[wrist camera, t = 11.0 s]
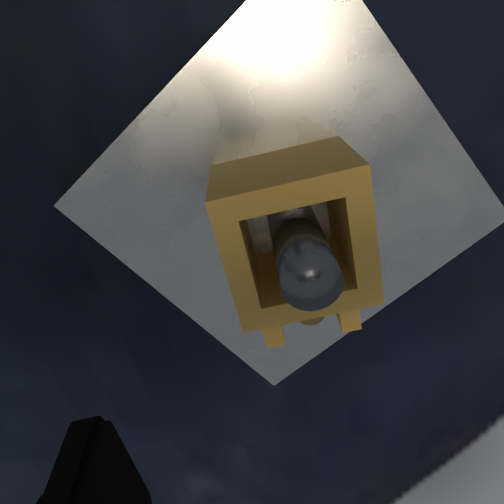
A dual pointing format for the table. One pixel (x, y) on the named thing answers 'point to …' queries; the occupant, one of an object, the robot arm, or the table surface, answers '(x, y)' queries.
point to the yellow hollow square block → (285, 198)
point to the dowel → (312, 321)
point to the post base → (275, 138)
